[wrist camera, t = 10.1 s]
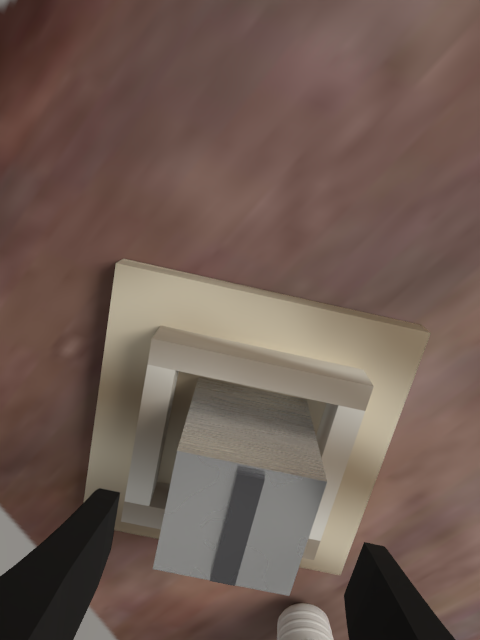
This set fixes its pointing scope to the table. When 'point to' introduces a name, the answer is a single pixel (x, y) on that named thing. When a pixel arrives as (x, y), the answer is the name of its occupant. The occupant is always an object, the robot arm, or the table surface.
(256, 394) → the block
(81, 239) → the table surface
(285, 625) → the lightbulb
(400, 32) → the table surface
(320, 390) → the beige square tray
